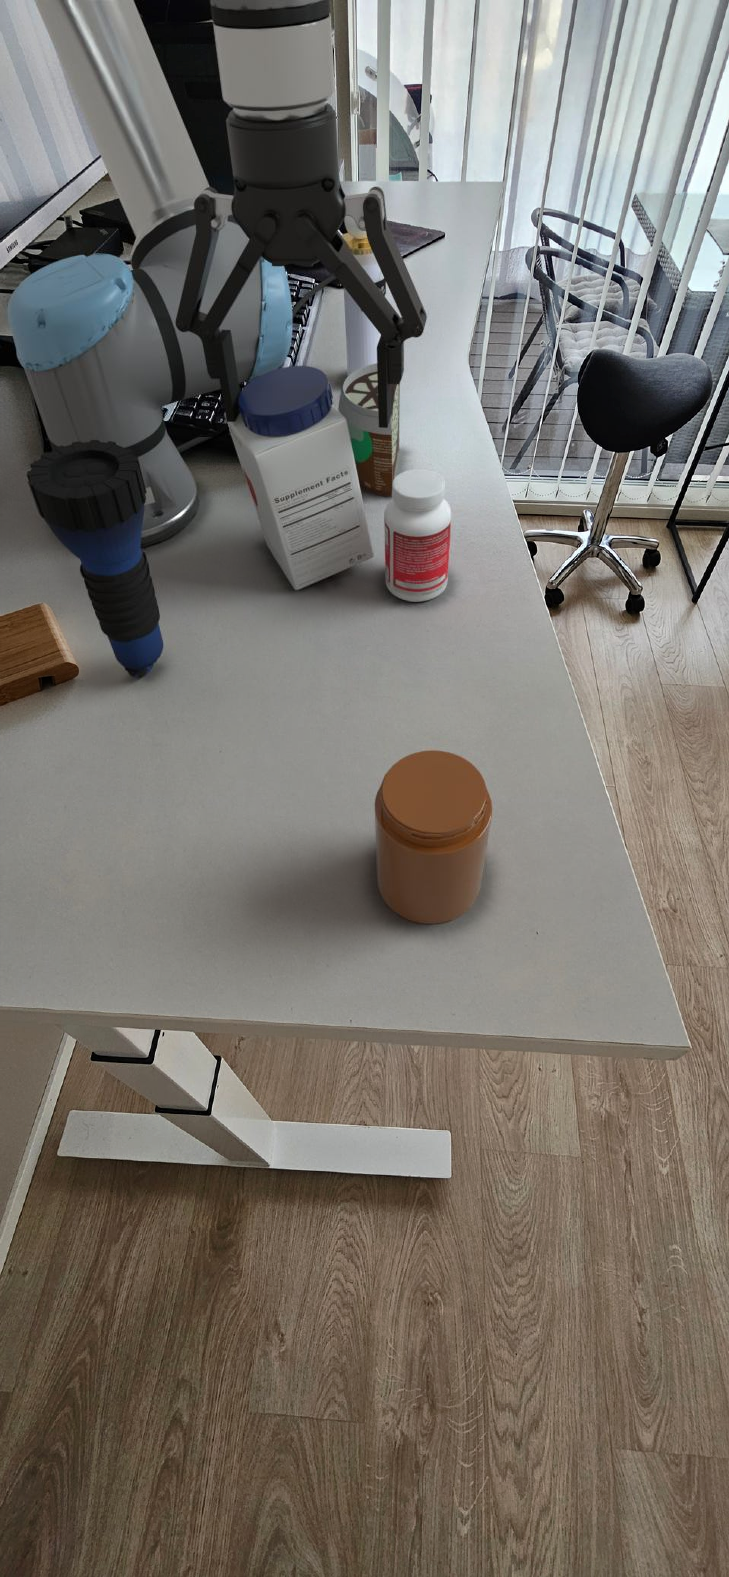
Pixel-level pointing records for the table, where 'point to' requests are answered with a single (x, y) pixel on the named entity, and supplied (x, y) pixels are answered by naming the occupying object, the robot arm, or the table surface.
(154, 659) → the flashlight
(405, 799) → the jar
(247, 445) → the rectangular carton
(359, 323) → the perfume bottle
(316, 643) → the table surface
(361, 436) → the food container
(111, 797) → the table surface
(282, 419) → the jar lid
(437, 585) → the pill bottle
